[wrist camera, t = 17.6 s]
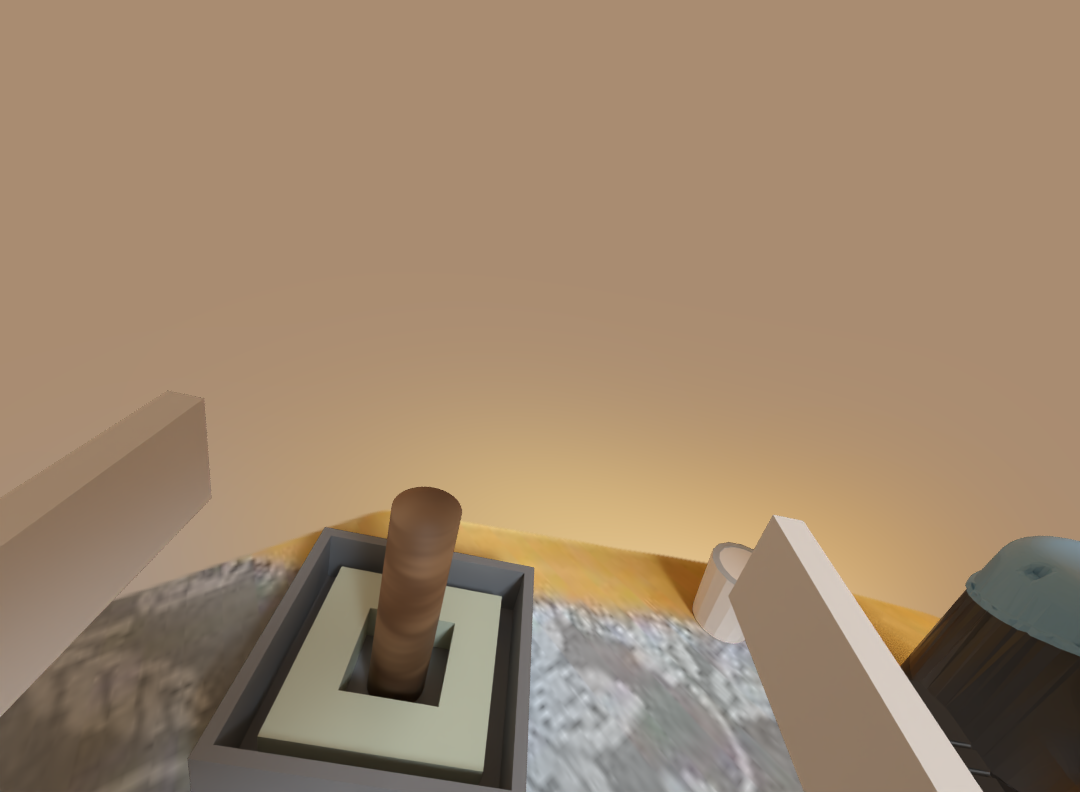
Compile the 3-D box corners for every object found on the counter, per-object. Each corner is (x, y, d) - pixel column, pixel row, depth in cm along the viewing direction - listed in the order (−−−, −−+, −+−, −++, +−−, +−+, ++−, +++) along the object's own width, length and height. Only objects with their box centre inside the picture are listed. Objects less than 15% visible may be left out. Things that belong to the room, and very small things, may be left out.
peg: (430, 661, 38) (466, 494, 31) (417, 714, 35) (455, 539, 28) (377, 651, 38) (401, 481, 31) (359, 704, 34) (382, 525, 28)
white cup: (672, 603, 51) (698, 551, 48) (713, 583, 55) (739, 534, 52) (727, 660, 46) (760, 607, 43) (767, 633, 50) (799, 583, 47)
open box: (520, 612, 46) (534, 567, 43) (504, 858, 30) (525, 809, 27) (321, 575, 44) (325, 527, 42) (193, 815, 28) (187, 758, 26)
